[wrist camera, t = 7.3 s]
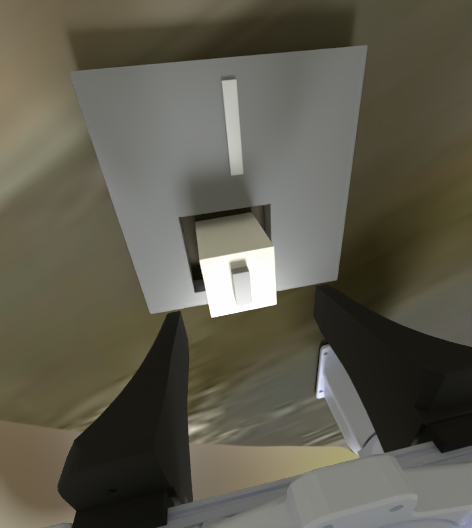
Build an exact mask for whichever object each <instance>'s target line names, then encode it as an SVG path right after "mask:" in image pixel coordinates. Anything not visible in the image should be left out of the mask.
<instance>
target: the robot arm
mask: <svg viewBox="0 0 472 528" xmlns="http://www.w3.org/2000/svg"><path fill="white" fill-rule="evenodd" d="M314 317H315V320H316V322H317V324H318V326H319V328H320V330H321V332H322V334H323V336H324V337H325V339H326V340H327V342H328V345H324V346H322V347H321V349H320V357H319V367H318V376H317V385H316V397H317V398H323V397H325V399H326V401H327V403H328V406H329V408H330V410H331V412H332V414H333V416H334V418H335V420H336V422H337V424H338V426H339V428H340V430H341V432H342V434H343V436H344V438H345V440H346V442H347V444H348V445H349V447H350V448H351V449H352V450H353V451H354V452H355V453H356V454H357V455H358V456H359V457H360V458H358V459H354V460H350V461H346V462H343V463H338V464H334V465H330V466H326V467H323V468H318V469H315V470H312V471H309V472H307V473H304V474H300V475H297V476H293V477H288V478H285V479H281V480H277V481H273V482H269V483H265V484H261V485H257V486H253V487H249V488H245V489H241V490H237V491H233V492H229V493H226V494H222V495H218V496H214V497H210V498H206V499H202V500H198V501H194V502H193V494H192V483H191V468H190V453H189V436H188V417H187V394H188V373H189V349H188V339H187V335H186V331H185V327H184V323H183V319H182V316H181V312H180V311H178V312H172V313H168V314H167V315H166V318H165V320H164V323H163V325H162V327H161V330H160V332H159V334H158V336H157V338H156V340H155V342H154V344H153V346H152V347H151V349H150V351H149V353H148V354H147V356H146V358H145V359H144V361H143V363H142V364H141V366H140V367H139V369H138V370H137V372H136V373H135V375H134V376H133V377H132V379H131V380H130V381H129V383H128V384H127V385H126V387H125V388H124V389H123V390H122V392H121V393H120V394H119V395H118V397H117V398H116V399H115V400H114V401H113V402H112V403H111V404H110V406H109V407H108V408H107V409H106V410H105V411H104V412H103V413H102V414H101V415H100V416H99V417H98V418H97V419H96V420H95V421H94V422H93V423H92V424H91V425H90V426H89V427H88V428H87V429H86V430H85V431H84V432H83V433H82V434H81V435H80V436H78V437H77V438H76V439H75V440H74V443H73V445H72V447H71V449H70V451H69V454H68V456H67V459H66V462H65V465H64V468H63V471H62V474H61V477H60V480H59V483H58V492H59V493H60V495H61V497H62V498H63V499H64V500H65V501H66V502H68V503H69V504H70V505H71V506H72V507H73V508H74V509H75V510H76V515H75V518H74V522H73V524H71V523H62V524H57V525H53V526H49V527H45V528H472V347H469V346H465V345H461V344H457V343H453V342H449V341H446V340H443V339H439V338H436V337H433V336H430V335H427V334H424V333H421V332H418V331H416V330H413V329H410V328H408V327H405V326H403V325H400V324H398V323H396V322H393V321H391V320H389V319H387V318H385V317H383V316H381V315H379V314H377V313H375V312H373V311H371V310H369V309H367V308H366V307H364V306H362V305H360V304H358V303H357V302H355V301H353V300H352V299H350V298H348V297H347V296H345V295H344V294H342V293H340V292H339V291H337V290H335V289H334V288H332V287H330V286H329V285H327V284H326V285H321V286H316V292H315V304H314Z"/></svg>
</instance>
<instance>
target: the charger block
mask: <svg viewBox="0 0 472 528" xmlns="http://www.w3.org/2000/svg"><path fill="white" fill-rule="evenodd" d="M195 226H196V235H197V244H198V252H199V261H200V265H201V270H202V275H203V279H204V284H205V289H206V294H207V298H208V303H209V308H210V312H211V317H217V316H222V315H226V314H231V313H236V312H241V311H246V310H251V309H256V308H261V307H266V306H271V305H275V304H276V280H275V255H274V245H273V244H272V242H271V241H270V239H269V238H268V236H267V235H266V233H265V232H264V230H263V229H262V227H261V226H260V224H259V223H258V221H257V220H256V218H255V217H254V215H253V214H252V212H250V213H244V214H238V215H232V216H226V217H220V218H214V219H208V220H202V221H196V222H195Z"/></svg>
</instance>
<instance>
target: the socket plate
mask: <svg viewBox="0 0 472 528" xmlns="http://www.w3.org/2000/svg"><path fill="white" fill-rule="evenodd" d="M367 47H368V45H363V46H352V47H340V48H329V49H318V50H306V51H295V52H284V53H272V54H261V55H250V56H238V57H227V58H216V59H204V60H193V61H182V62H170V63H159V64H148V65H136V66H125V67H114V68H102V69H91V70H80V71H68V72H69V75H70V78H71V81H72V84H73V87H74V90H75V93H76V96H77V99H78V102H79V105H80V108H81V111H82V114H83V117H84V120H85V122H86V125H87V128H88V131H89V134H90V137H91V140H92V143H93V146H94V149H95V152H96V155H97V158H98V161H99V164H100V167H101V170H102V173H103V175H104V178H105V181H106V184H107V187H108V190H109V193H110V196H111V199H112V202H113V205H114V208H115V211H116V214H117V217H118V220H119V223H120V226H121V228H122V231H123V234H124V237H125V240H126V243H127V246H128V249H129V252H130V255H131V258H132V261H133V264H134V267H135V270H136V273H137V276H138V279H139V281H140V284H141V287H142V290H143V293H144V296H145V299H146V302H147V305H148V308H149V311H150V314H154V313H159V312H165V311H170V310H176V309H181V308H187V307H192V306H198V305H203V304H209V303H208V298H207V294H206V289H205V284H204V279H200V280H194V279H193V274H192V269H191V265H190V260H189V255H188V250H187V245H186V241H185V236H184V231H183V226H182V222H181V217H185V216H191V215H198V214H205V213H212V212H219V211H225V210H232V209H239V208H246V207H253V206H259V205H264V215H265V233H266V235H267V236H268V238H269V239H270V241H271V242H272V244H273V245H274V255H275V280H276V291H280V290H286V289H291V288H297V287H302V286H308V285H313V284H319V283H324V282H330V281H335V280H337V278H338V270H339V262H340V255H341V247H342V239H343V232H344V224H345V216H346V208H347V201H348V193H349V185H350V178H351V170H352V162H353V155H354V147H355V139H356V132H357V124H358V116H359V108H360V101H361V93H362V85H363V78H364V70H365V62H366V55H367Z"/></svg>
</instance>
